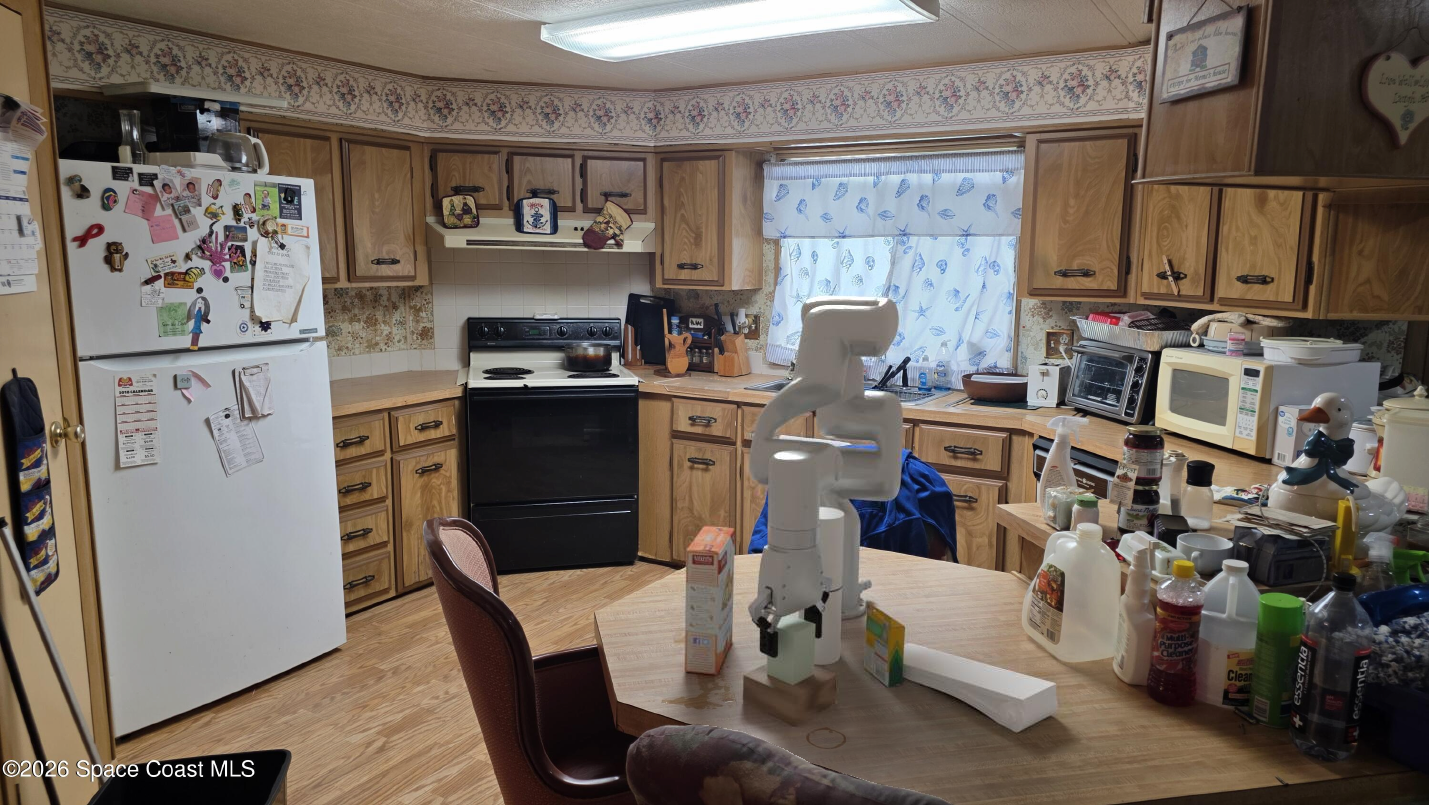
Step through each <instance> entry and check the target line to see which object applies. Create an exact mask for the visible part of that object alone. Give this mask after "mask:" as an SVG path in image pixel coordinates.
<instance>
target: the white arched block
mask: <svg viewBox="0 0 1429 805" xmlns="http://www.w3.org/2000/svg"><path fill="white" fill-rule="evenodd" d="M903 678H904V679H907V680H908V681H912V682H914V683H918V684H921V685H923V686H925V687H929V688H933V689H934V690H938V691H940V692H943V693H946V694H948V695H950V696H953V697H955V698H956V699H959V700H961V701H962V702H964V703H967V704H968V705H970V706H972V707H973V708H975V709H977V710H979V711H980V712H981V713H983V714H984V715H986V716H987V717H989V718H990V719H992V720H993V721H995V722H996V723H997V724H1000V725H1001V726H1003V727H1005V728H1007V729H1009V730H1011V731H1012V732H1014V733H1019V732H1021V731H1022V730H1024V729H1026V728H1029V727H1030V726H1033V725H1034V724H1037V723H1038V722H1040V721H1042V720H1044V719H1046V718H1048V717H1050V716H1052V715H1054V714H1055V713H1056V711H1057V709H1058V707H1059V701H1058V697H1057V695H1056V694H1057V693H1056V691H1057V689H1058V688H1057V683H1056V682H1053V681H1049V680H1045V679H1041V678H1038V677H1034V676H1030V675H1028V674H1027V675H1026V674H1023V673H1019V672H1017V671H1013V670H1009V669H1005V668H1002V667H998V666H994V665H992V664H987V663H984V662H980V661H976V660H974V659H973V660H972V659H969V658H966V657H961V656H958V655H955V654H951V653H948V652H944V651H940V650H937V649H933V648H930V647H925V646H923V645H922V646H921V645H919V644H915V643H911V642H908V643H904V659H903Z"/></svg>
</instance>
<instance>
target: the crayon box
mask: <svg viewBox="0 0 1429 805" xmlns="http://www.w3.org/2000/svg"><path fill="white" fill-rule="evenodd" d="M865 622H866V624H865V643H864V662H863V664H864V665H863V668H864V670H867V672H869V673H870V674H871V675H873V676H874V677H875V678H876V679H877V680H879V681H880V682H881V683H882V684H883V685H884V686H885V687H887V688H888V687H893V686H898V685H899V686H900V685H903V678H904V677H903V659H904V645H905V634H906V626H905V624H904V625H903V623H901V622H899V621H897V620H896V619H895V618H893V617H892V616H890V615H888V613H886V612H884V611H883V610H881V609H880V608H878V607H876V606H875V605H874V604H872V603H871V602H869V601H866V621H865Z"/></svg>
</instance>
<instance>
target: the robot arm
mask: <svg viewBox="0 0 1429 805" xmlns="http://www.w3.org/2000/svg"><path fill="white" fill-rule="evenodd" d="M800 318H801V324H802V327H801V331H800V332H801V333H800V337H799V342H798V348H797V352H796V359H795V364H794V370H793V375H792V380H791V381H790V383H789V384H787V385H785V387H783V388H782V389H780V390H779V391H778V392H777V393H776V394H775V395H774V396H773V397H772V398H771V399H770V400H769V401H768V402H767V404H766V405H765V406H764V407H763V408H762V410H761V412H760V413H759V416H758V417H757V419H756V422H755V427H754V430H753V431H754V432H753V435H752V441H751V445H750V451H749V458H748V471H749V475H750V477H751V479H752V480H753V482H754V483H755V484H757V485H759V486H761V487H766V488H767V487H768V488H767V489H768V490H767V491H768V492H767V493H768V494H767V496H768V497H767V499H768V500H767V505H768V506H767V544H766V545H765V546H763V550H762V553H761V559H760V563H759V570H758V581H757V582H758V584H757V596H756V598H755V599H754V600H753V601H752V602H750V604H749V605H748V607H747V610H748V613H749V615H750V617H751V621H752V622H753V623H754V624H755V626H756V628H758V629H759V652H760V653H761V654H764V655H766V656H767V655H768V656H770V657H772V658H776V657H777V656H778V632H777V631H775V629H776V627H777V625H778V623H779V621H780V620H781V618H783V617H785V616H788V615H793V614H795V613H797V612H798V613H799V611H800V610H803V609H804V620H805V621H808V622H811V623H814V624H815V638H817V639H819V638H821V637H822V613H823V612H824V611H825V608H826V607H825V603H826V601H827V600H828V598H829V592H830V589H831V586H832V583H833V580H832V579H831V578H828V577H826V576H823V564H822V554H821V547H820V542H819V527H820V524H819V509H820V507H827V508H834V509H838V510H840V511H842V512H844V539H843V572H842V606H841V620H849V619H855V618H857V617H859V616H862V615H863V614H864V613H865V612H866V611H867V602H866V601H865V599H863V598H862V597H861V594H862V593H863V592H864V591H866V590H869V589H871V588H872V586H873V584H872V581H871V580H870V579H869V578H865V579H863V580H861V581H860V580H859V579H860V578H859V577H860V574H859V572H860V547H861V546H860V545H861V519H860V517H859V514H858V511H857V509H856V508H855V506H854V505H853V504H852V503H851V501H850V500H862V501H863V500H864V501H873V502H874V501H876V502H878V501H879V502H888V501H892V500H894V499H895V498H896V497H897V495H898V494H899V491H900V487H901V481H902V458H903V456H902V455H903V431H904V430H903V429H904V428H903V427H904V413H903V405H902V403H901V400H900V398H899V397H898V396H897V395H896V394H895V393H893V392H889V391H885V390H884V391H882V390H865V388H864V370H865V366H864V365H865V364H864V361H863V359H862V358H863V357H864V358H879V357H883V356H884V355H886V354H887V353H888V351H889V349H890V348H891V346H892V345H893V342H894V340H895V339H896V337H897V333H898V329H899V325H900V324H899V322H900V316H899V310H898V306H897V305H896V303H895V301H894V300H893V299H891V298H889V297H883V296H882V297H881V296H880V297H878V296H848V295H847V296H846V295H845V296H844V295H841V296H840V295H825V296H823V295H822V296H816V297H812V298H808V299H807V300H806V301H804V302H803V304H802V306H801V310H800ZM813 411H816V413H815V414H816V415H815V416H816V417H815V418H816V428H817V431H818V433H819V434H820V435H821V436H822V437H824V438H827V439H832V440H839V441H840V440H841V441H852V442H853V441H854V442H867V443H873V444H874V445H875V446H876V449H875V448H860V447H859V448H858V447H854V446H853V447H851V446H850V447H849V446H837V445H834V444H831V443H828V442H821V441H808V440H802V439H784V438H775V437H776V436H777V433H778V432H779V430H780V429H782V427H783V426H784V425H785V424H787V423H789V422H790V421H791V420H793V419H795V418H797V417H800V416H803V415H805V414H808V413H811V412H813ZM770 615H772V618H771V620H770V621H769V620H768V619H769V617H770Z"/></svg>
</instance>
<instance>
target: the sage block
mask: <svg viewBox="0 0 1429 805" xmlns="http://www.w3.org/2000/svg"><path fill="white" fill-rule="evenodd" d="M775 631H777V632H778V656H777V657H776V658H772V657H770V656H768V655H766V656H767V657H766V659H767V660H766V664H767V674H768V675H770V676H772V677H775V678H777V679H779V680H782V681H784V682H786V683H789V684H791V685H794V684H796V683H798V682H800V681H802V680H804V679H806V678H808V677H810V676H812V675H813V674H814V666H815V664H814V652H815V624H814V623H811V622H808V621H805V620H803V619H800V618H799V617H797V616H794V615H793V614H790V615H788V616H785V617H782V618H781V620H780V621H779V623H778V625H777V627H776V629H775Z"/></svg>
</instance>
